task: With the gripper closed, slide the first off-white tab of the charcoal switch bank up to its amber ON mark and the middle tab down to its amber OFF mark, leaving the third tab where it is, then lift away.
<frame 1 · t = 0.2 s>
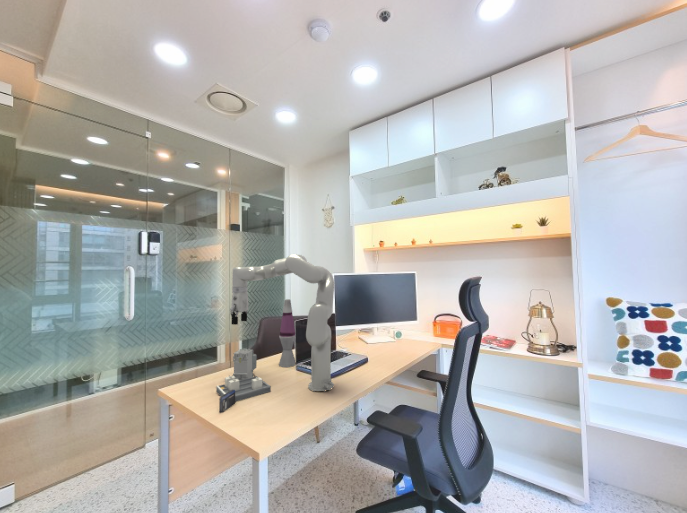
hand: (239, 322, 152), 31 cm above the table, tool pointing down, fingers open, 9 cm apart
tab 3: (230, 381, 139), point 5 cm above the table, slide at 4.5 cm
circuit breaker: (245, 378, 155), on the table
switch bank: (243, 391, 138), on the table
tab 2: (234, 384, 135), point 5 cm above the table, slide at 4.5 cm
mini dv tape: (227, 408, 121), on the table
tab 1: (257, 383, 136), point 4 cm above the table, slide at -4.5 cm
lamp: (287, 364, 177), on the table
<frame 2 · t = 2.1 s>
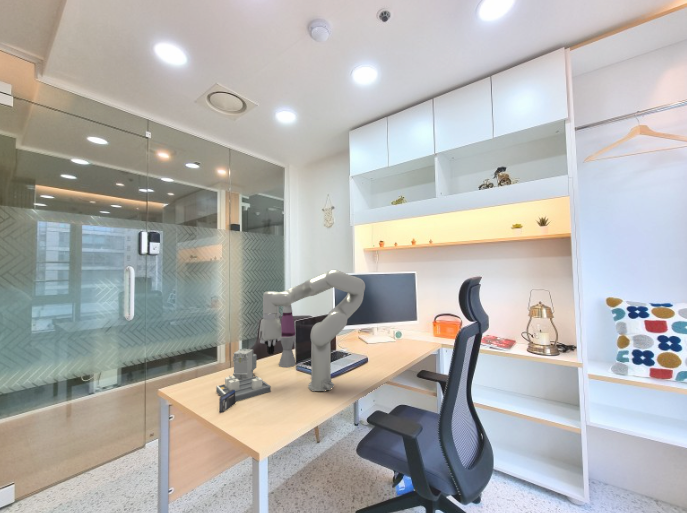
hand: (270, 353, 142), 17 cm above the table, tool pointing down, fingers closed
nothing on the table moved.
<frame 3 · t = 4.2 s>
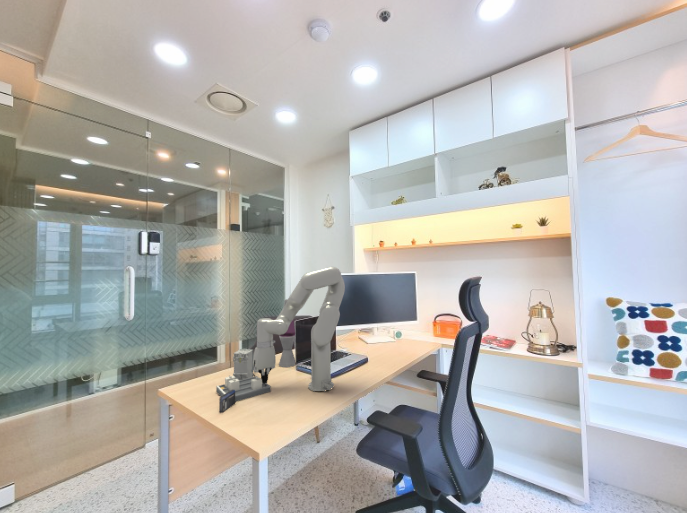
hand: (264, 382, 139), 4 cm above the table, tool pointing down, fingers closed
tab 1: (256, 383, 136), point 4 cm above the table, slide at -4.3 cm, touching gripper
everything else where it was.
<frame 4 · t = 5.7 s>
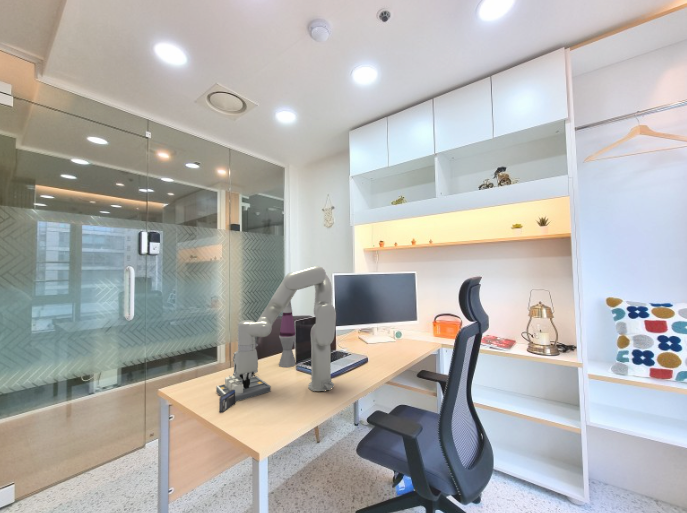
hand: (246, 387, 133), 4 cm above the table, tool pointing down, fingers closed
tab 1: (237, 388, 131), point 4 cm above the table, slide at 4.7 cm, touching gripper
everything else where it was.
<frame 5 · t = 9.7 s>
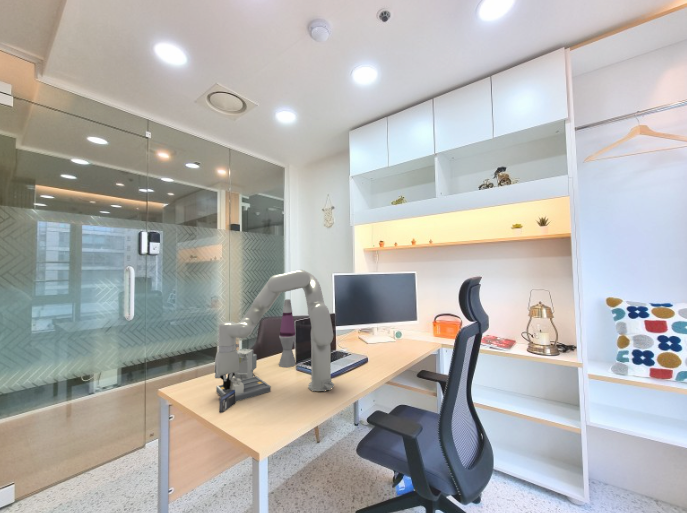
hand: (226, 388, 133), 3 cm above the table, tool pointing down, fingers closed
tab 2: (235, 383, 136), point 5 cm above the table, slide at 3.6 cm, touching gripper
tab 1: (238, 388, 131), point 5 cm above the table, slide at 4.5 cm
everything else where it was.
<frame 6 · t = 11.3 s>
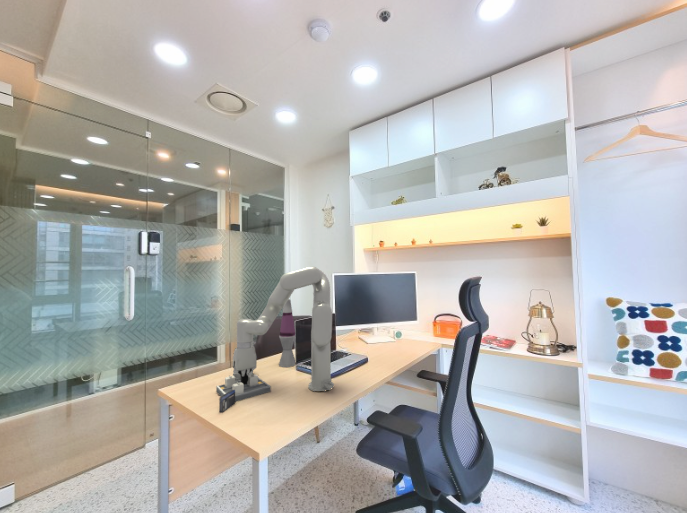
hand: (244, 383, 138), 4 cm above the table, tool pointing down, fingers closed
tab 2: (252, 379, 141), point 5 cm above the table, slide at -4.6 cm, touching gripper
everything else where it was.
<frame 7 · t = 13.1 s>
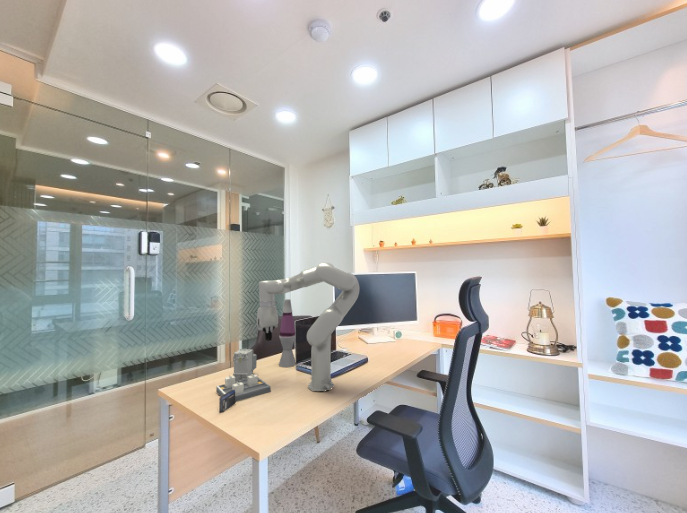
hand: (268, 340, 147), 22 cm above the table, tool pointing down, fingers closed
tab 2: (252, 379, 141), point 5 cm above the table, slide at -4.5 cm
everything else where it was.
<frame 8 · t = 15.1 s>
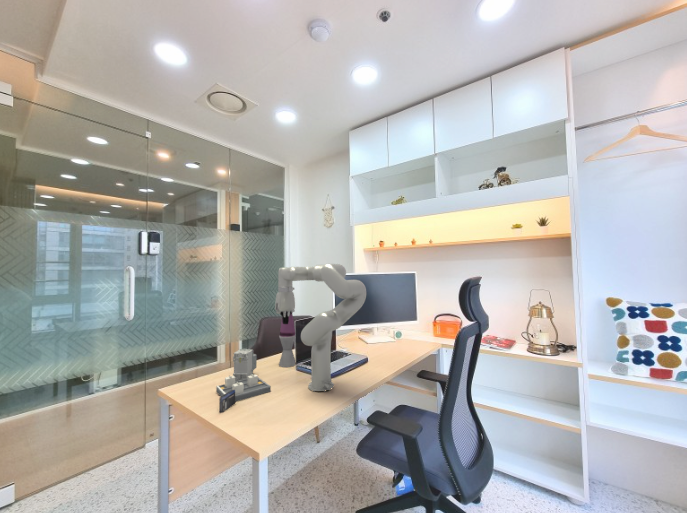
hand: (285, 323, 156), 29 cm above the table, tool pointing down, fingers closed
nothing on the table moved.
at the end: tab 1 slide at 4.5 cm; tab 2 slide at -4.5 cm; tab 3 slide at 4.5 cm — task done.
